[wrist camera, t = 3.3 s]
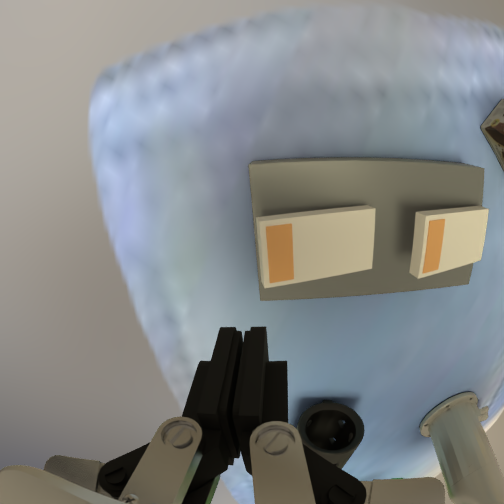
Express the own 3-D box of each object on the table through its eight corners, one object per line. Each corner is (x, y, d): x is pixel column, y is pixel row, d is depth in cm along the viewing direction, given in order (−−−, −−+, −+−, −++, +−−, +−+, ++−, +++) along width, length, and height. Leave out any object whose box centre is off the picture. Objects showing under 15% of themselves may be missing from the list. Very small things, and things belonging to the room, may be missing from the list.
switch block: (462, 163, 23) (491, 170, 18) (451, 268, 27) (474, 289, 23) (252, 161, 25) (246, 166, 21) (262, 280, 30) (259, 307, 25)
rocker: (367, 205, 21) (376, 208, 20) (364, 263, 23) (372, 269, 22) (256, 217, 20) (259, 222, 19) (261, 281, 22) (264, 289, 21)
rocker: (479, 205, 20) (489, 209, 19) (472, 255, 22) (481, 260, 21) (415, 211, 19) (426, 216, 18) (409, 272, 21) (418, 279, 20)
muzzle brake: (359, 395, 36) (372, 453, 26) (317, 471, 46) (318, 511, 37) (295, 394, 36) (296, 457, 27) (272, 471, 47) (270, 512, 37)
